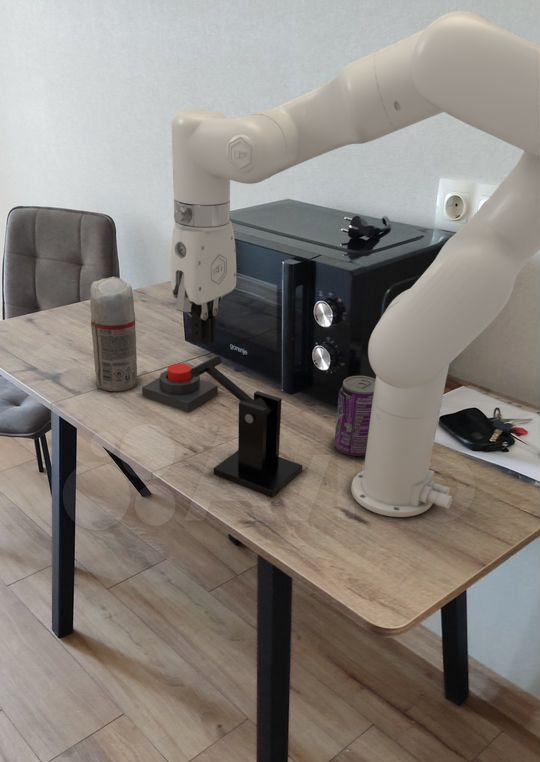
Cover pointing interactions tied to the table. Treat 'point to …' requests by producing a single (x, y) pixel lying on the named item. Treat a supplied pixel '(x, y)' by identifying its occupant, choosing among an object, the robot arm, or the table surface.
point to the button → (179, 372)
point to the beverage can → (354, 415)
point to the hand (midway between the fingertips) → (203, 341)
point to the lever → (227, 382)
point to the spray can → (113, 334)
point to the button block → (180, 392)
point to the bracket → (259, 450)
